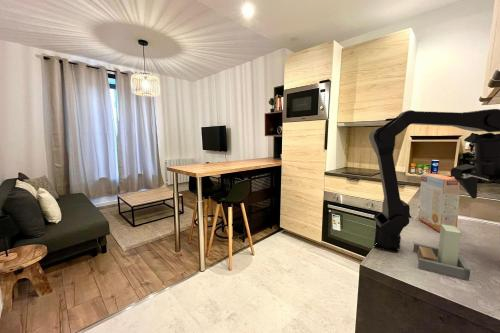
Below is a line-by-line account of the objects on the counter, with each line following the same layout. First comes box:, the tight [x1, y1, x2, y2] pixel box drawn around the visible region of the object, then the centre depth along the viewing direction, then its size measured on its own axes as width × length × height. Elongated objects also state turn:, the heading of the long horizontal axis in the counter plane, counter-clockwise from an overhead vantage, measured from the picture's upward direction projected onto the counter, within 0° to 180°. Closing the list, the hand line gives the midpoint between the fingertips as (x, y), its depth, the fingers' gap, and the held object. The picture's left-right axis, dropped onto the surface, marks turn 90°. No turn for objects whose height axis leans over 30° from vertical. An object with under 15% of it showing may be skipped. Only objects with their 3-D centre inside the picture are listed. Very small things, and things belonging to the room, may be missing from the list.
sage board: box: [436, 224, 462, 267], centre depth 58 cm, size 3×5×11 cm, turn 148°
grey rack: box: [412, 242, 471, 281], centre depth 60 cm, size 10×11×3 cm
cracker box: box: [418, 173, 462, 233], centre depth 85 cm, size 14×6×21 cm, turn 168°
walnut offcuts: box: [416, 246, 438, 262], centre depth 61 cm, size 4×8×3 cm, turn 149°
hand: (490, 203), depth 63 cm, fingers open, 9 cm apart
